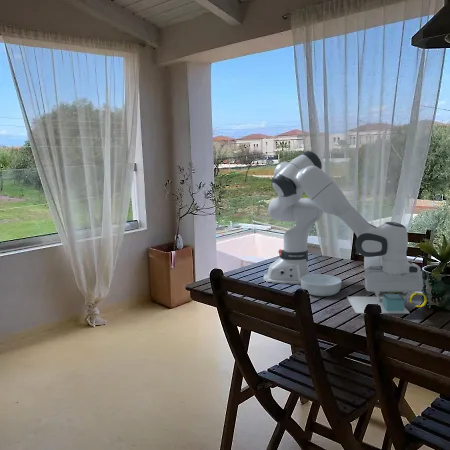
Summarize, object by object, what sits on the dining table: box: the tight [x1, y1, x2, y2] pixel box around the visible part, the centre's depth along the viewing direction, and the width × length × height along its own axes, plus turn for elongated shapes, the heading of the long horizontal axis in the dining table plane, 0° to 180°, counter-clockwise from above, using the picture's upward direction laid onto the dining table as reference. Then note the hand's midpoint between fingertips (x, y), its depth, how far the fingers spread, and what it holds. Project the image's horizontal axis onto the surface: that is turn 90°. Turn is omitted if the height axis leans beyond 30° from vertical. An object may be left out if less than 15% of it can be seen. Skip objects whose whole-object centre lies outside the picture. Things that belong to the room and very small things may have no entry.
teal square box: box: [382, 293, 405, 311], centre depth 162 cm, size 6×6×4 cm
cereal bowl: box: [300, 273, 342, 297], centre depth 184 cm, size 17×17×7 cm
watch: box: [409, 291, 428, 308], centre depth 167 cm, size 6×3×6 cm, turn 87°
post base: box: [346, 296, 410, 314], centre depth 166 cm, size 19×19×5 cm
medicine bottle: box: [363, 256, 381, 270], centre depth 225 cm, size 7×7×12 cm
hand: (392, 302), depth 162 cm, fingers open, 8 cm apart
